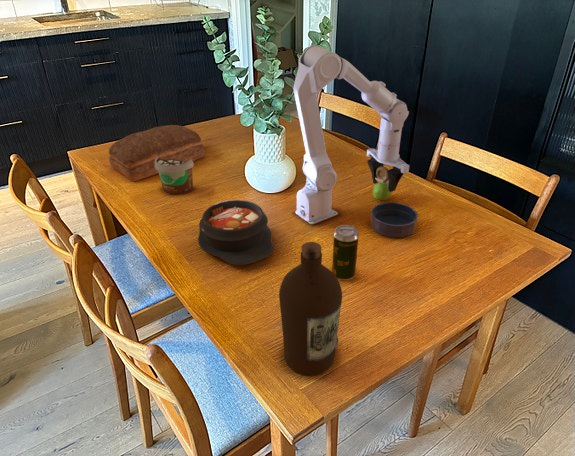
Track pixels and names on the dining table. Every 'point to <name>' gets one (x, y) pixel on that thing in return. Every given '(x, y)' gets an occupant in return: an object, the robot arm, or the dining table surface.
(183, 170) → the food container
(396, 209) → the bowl
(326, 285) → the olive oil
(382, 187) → the snail figurine
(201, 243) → the casserole
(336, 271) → the beer can
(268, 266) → the dining table surface
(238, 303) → the dining table surface
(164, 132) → the bread
